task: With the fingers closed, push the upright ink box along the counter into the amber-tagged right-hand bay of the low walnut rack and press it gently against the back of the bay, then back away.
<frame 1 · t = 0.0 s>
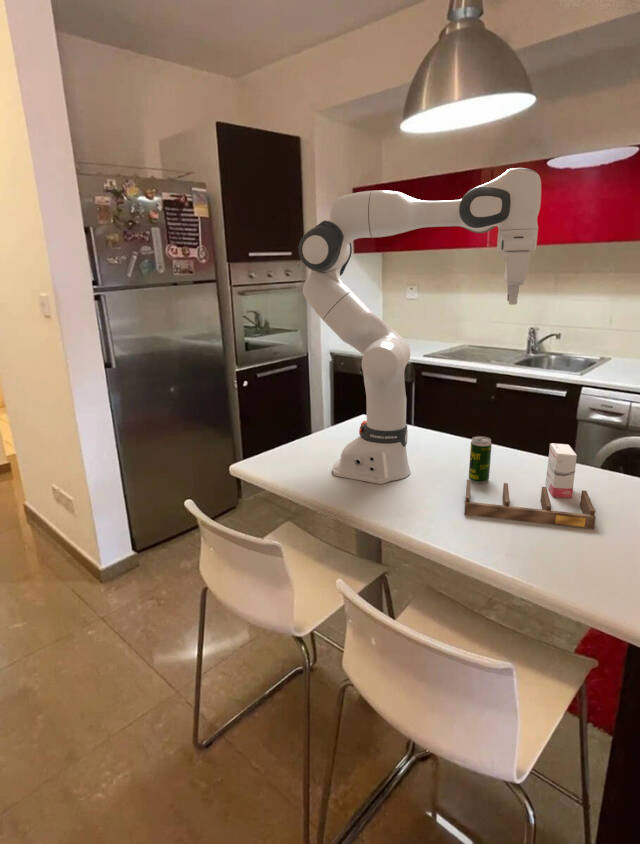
hand: (511, 302, 125), 48 cm above the table, tool pointing down, fingers open, 8 cm apart
rack: (524, 509, 124), on the table
beer can: (478, 480, 141), on the table
ink box: (558, 491, 134), on the table
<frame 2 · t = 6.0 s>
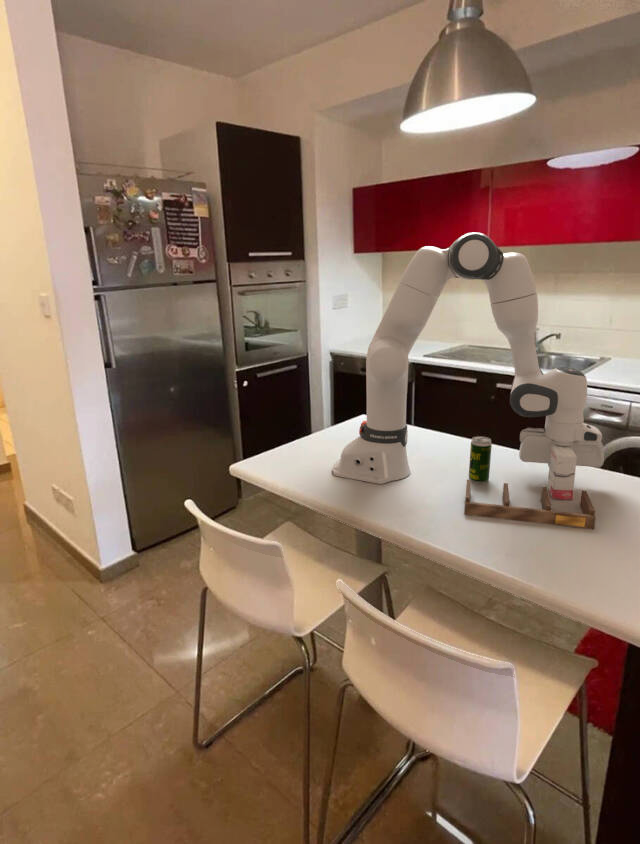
hand: (557, 478, 137), 2 cm above the table, tool pointing down, fingers closed, pressing on ink box
ink box: (559, 493, 132), on the table, touching gripper
everything else where it was.
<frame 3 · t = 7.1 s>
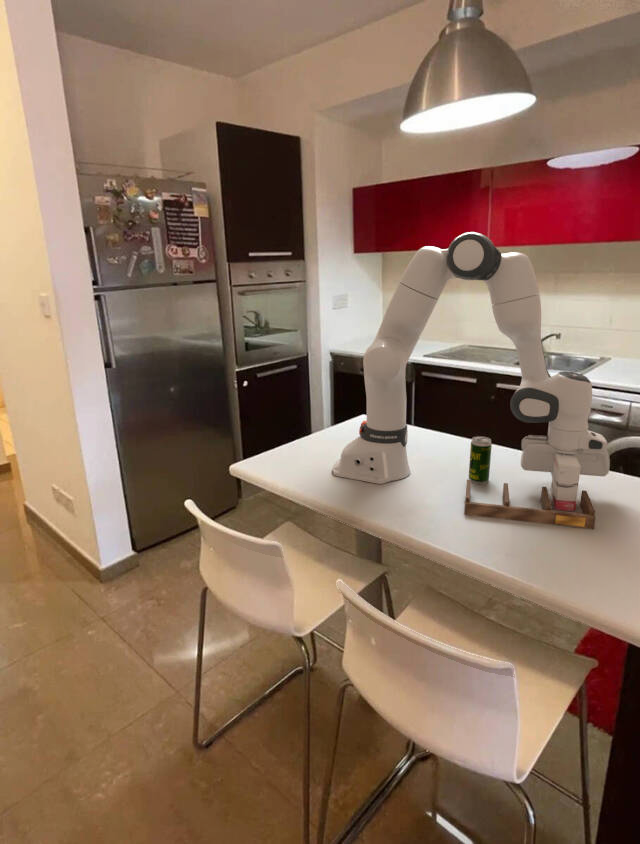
hand: (560, 487, 131), 2 cm above the table, tool pointing down, fingers closed, pressing on ink box
ink box: (562, 503, 127), on the table, touching gripper
everything else where it was.
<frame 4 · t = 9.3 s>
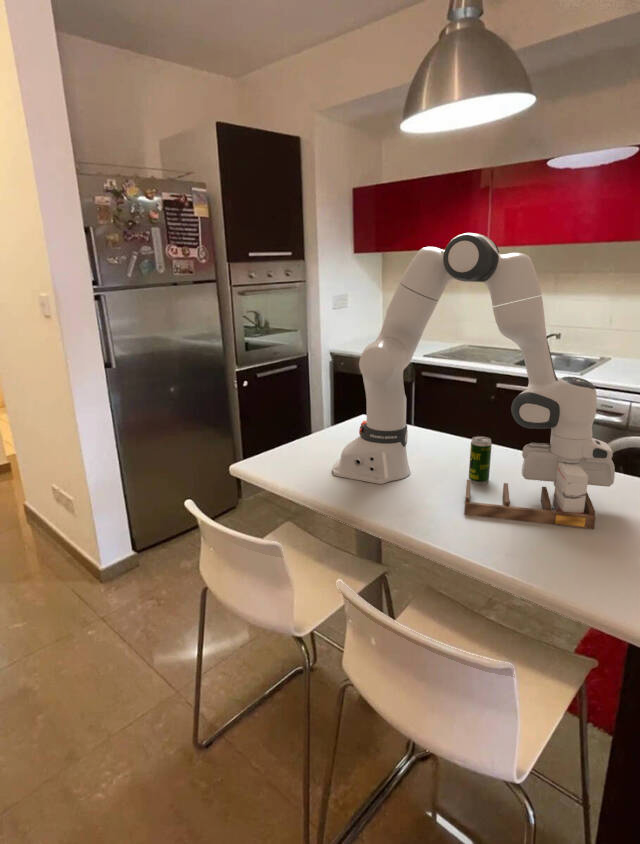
hand: (563, 497, 126), 2 cm above the table, tool pointing down, fingers closed
ink box: (566, 515, 121), resting in rack, touching gripper
everything else where it was.
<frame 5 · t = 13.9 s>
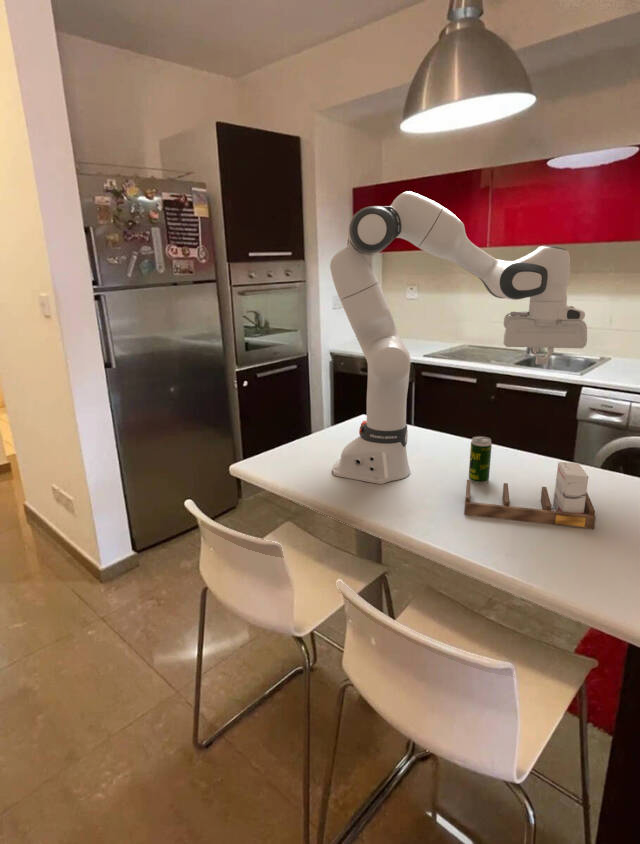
hand: (541, 364, 137), 31 cm above the table, tool pointing down, fingers closed
ink box: (566, 515, 121), resting in rack
everything else where it was.
at the end: ink box 0.7 cm from the target spot on the rack, point 0.0 cm above the rack's base; ink box tilted 0°; ink box moved 13.4 cm from its start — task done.
